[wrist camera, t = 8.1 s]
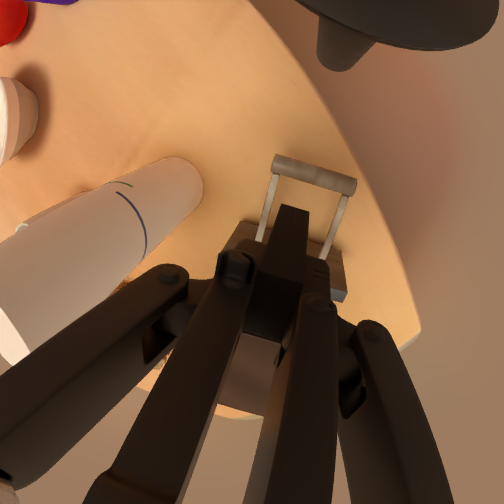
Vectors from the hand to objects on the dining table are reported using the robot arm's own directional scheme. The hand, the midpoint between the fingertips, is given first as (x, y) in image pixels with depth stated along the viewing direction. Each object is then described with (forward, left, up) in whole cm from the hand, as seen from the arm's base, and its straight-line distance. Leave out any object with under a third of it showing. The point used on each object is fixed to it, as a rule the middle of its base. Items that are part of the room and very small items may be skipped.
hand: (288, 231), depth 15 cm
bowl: (+26, -34, -15) cm, 46 cm away
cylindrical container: (+12, -7, -15) cm, 21 cm away
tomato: (+17, -50, -16) cm, 55 cm away
